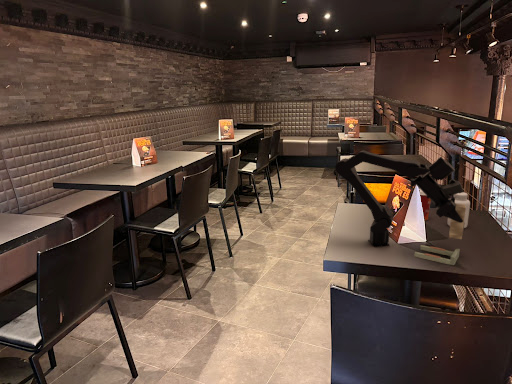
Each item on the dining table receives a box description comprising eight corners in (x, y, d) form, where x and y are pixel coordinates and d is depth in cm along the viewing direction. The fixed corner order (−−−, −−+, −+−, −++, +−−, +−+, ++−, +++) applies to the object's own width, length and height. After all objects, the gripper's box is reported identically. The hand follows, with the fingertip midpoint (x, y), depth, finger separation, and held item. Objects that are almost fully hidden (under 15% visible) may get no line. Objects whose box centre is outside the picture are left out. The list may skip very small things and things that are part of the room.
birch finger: (449, 237, 135) (453, 206, 132) (449, 233, 139) (452, 203, 136) (462, 239, 133) (466, 207, 130) (462, 235, 137) (465, 204, 134)
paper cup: (432, 221, 171) (434, 192, 167) (414, 221, 173) (416, 192, 169) (428, 216, 178) (430, 188, 175) (411, 215, 180) (413, 187, 176)
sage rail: (414, 256, 137) (414, 249, 136) (421, 248, 143) (421, 241, 142) (453, 265, 129) (454, 257, 128) (458, 256, 135) (459, 249, 134)
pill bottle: (466, 229, 160) (470, 196, 156) (446, 227, 164) (449, 194, 160) (467, 224, 166) (471, 192, 162) (448, 221, 170) (451, 190, 166)
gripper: (450, 180, 123) (484, 214, 122) (449, 169, 140) (479, 199, 138) (423, 200, 129) (455, 233, 127) (424, 187, 145) (453, 217, 143)
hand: (461, 220), depth 134 cm, fingers closed on birch finger, 4 cm apart
